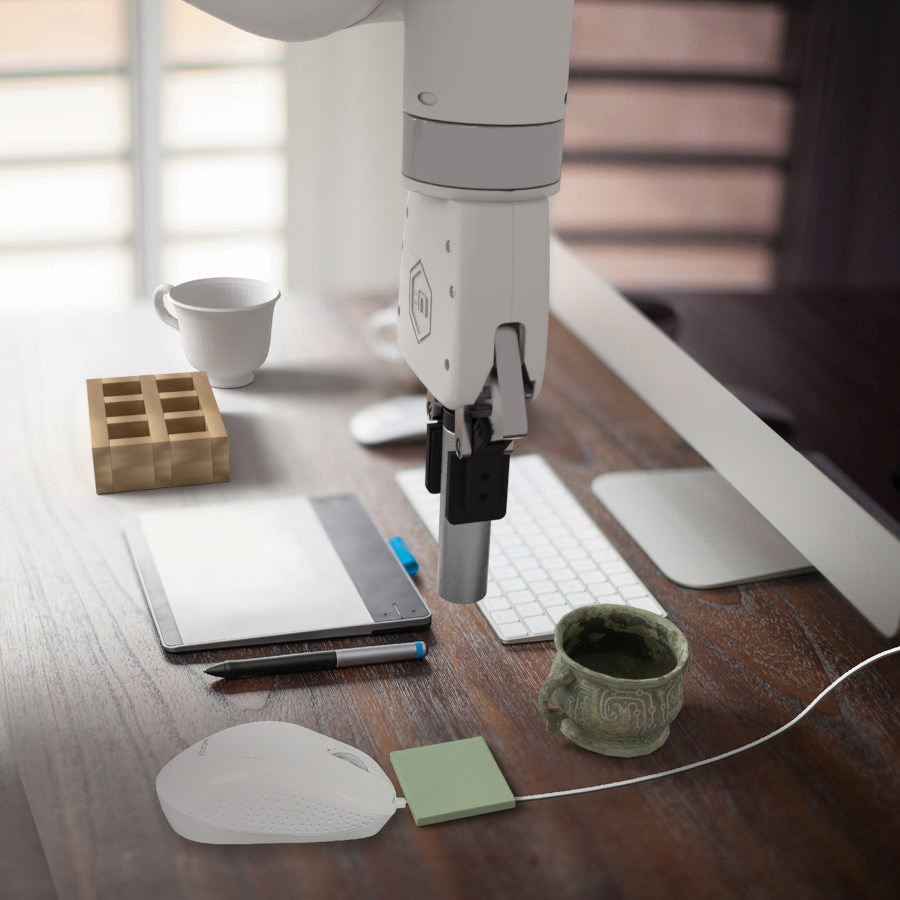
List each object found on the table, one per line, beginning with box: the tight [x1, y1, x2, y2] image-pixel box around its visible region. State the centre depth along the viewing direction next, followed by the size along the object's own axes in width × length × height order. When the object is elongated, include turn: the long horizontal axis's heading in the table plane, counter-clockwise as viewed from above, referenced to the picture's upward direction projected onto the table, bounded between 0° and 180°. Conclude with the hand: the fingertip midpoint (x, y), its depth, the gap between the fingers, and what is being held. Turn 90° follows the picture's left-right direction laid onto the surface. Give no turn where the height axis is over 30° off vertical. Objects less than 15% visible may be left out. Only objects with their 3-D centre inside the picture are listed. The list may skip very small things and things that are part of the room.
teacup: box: [152, 276, 282, 389], centre depth 125 cm, size 12×15×10 cm
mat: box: [389, 735, 517, 827], centre depth 68 cm, size 6×6×1 cm
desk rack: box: [85, 370, 231, 495], centre depth 108 cm, size 12×17×4 cm
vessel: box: [537, 602, 692, 759], centre depth 73 cm, size 12×9×6 cm
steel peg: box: [436, 406, 492, 605], centre depth 61 cm, size 3×3×11 cm
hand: (464, 501), depth 61 cm, fingers closed on steel peg, 2 cm apart
